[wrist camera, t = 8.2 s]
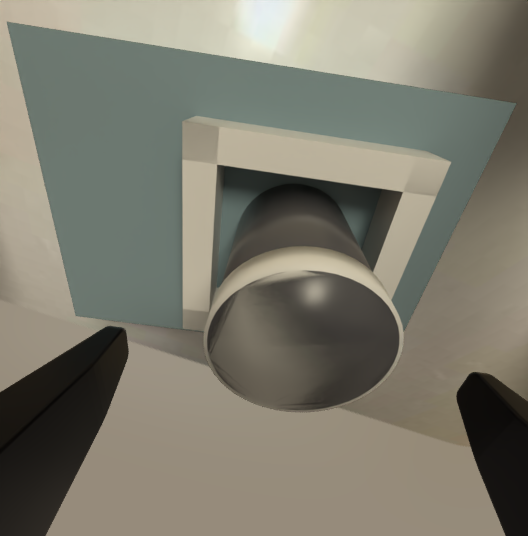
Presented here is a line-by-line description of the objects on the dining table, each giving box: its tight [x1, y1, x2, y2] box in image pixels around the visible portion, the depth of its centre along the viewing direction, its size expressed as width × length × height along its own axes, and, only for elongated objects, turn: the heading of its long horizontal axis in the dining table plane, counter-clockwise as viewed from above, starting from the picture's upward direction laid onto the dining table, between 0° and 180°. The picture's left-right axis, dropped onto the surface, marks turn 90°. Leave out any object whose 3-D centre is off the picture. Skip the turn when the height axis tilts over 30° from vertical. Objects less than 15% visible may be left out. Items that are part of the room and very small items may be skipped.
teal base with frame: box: [7, 22, 517, 332], centre depth 15 cm, size 18×13×6 cm
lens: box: [203, 184, 404, 412], centre depth 11 cm, size 5×5×7 cm
